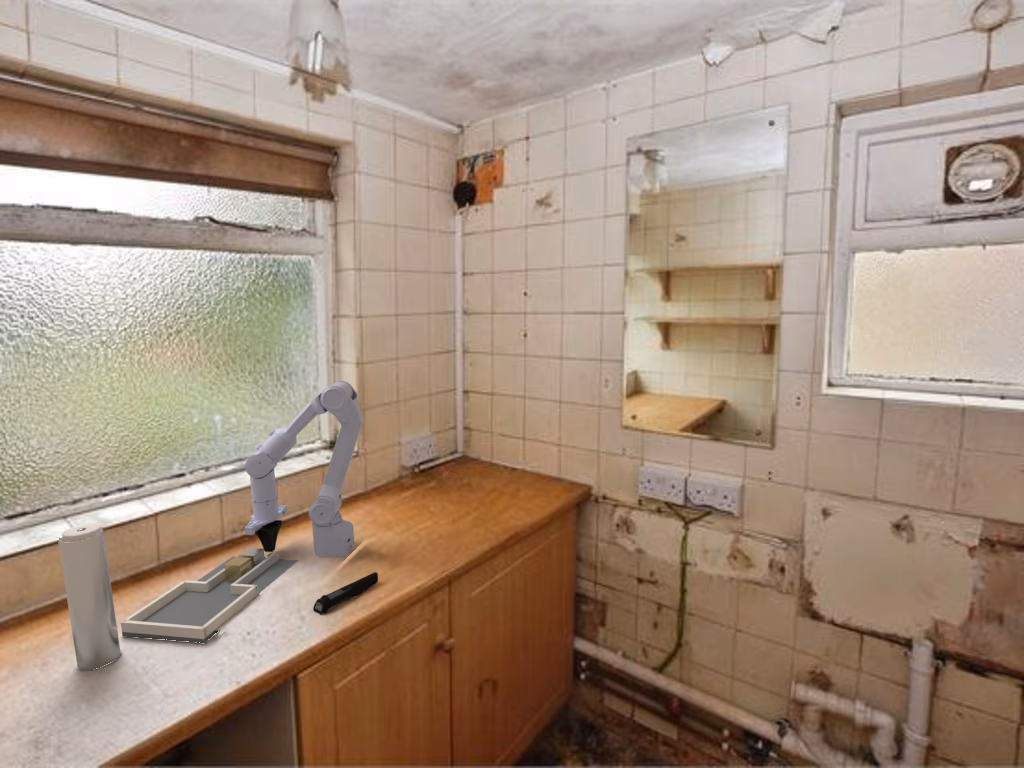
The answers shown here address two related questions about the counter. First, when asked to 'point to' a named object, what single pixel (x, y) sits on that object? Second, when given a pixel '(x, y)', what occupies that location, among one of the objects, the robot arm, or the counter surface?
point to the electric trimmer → (345, 593)
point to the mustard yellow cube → (237, 568)
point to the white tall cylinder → (89, 596)
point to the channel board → (202, 603)
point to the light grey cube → (253, 555)
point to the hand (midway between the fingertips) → (269, 550)
